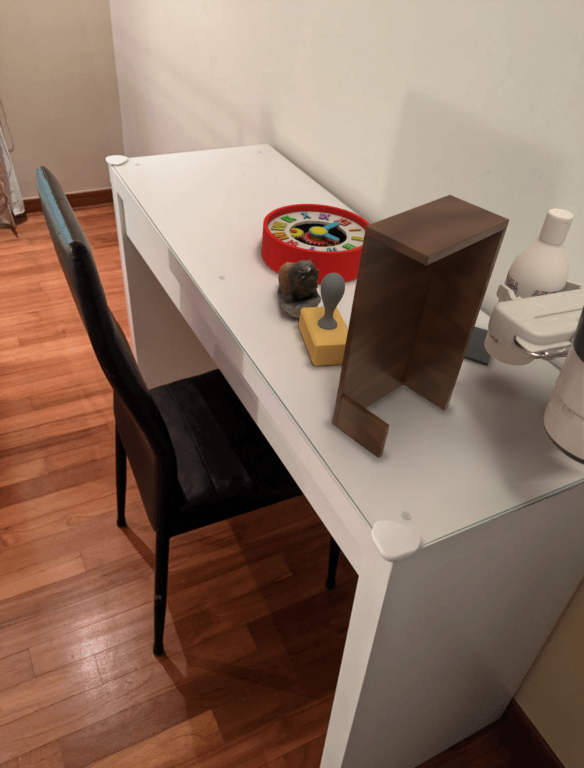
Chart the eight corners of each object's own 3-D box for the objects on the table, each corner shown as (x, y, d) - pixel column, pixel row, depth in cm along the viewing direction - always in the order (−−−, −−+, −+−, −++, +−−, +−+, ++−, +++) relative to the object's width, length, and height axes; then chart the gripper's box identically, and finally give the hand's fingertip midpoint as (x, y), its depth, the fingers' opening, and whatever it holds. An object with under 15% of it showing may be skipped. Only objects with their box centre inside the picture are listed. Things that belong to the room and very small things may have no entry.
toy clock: (239, 222, 107) (312, 195, 120) (238, 252, 111) (309, 223, 123) (327, 265, 98) (396, 231, 110) (323, 297, 101) (390, 260, 114)
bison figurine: (271, 285, 103) (275, 230, 97) (312, 286, 104) (319, 231, 98) (280, 326, 94) (285, 267, 87) (324, 325, 95) (333, 268, 89)
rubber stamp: (351, 364, 88) (364, 292, 80) (312, 366, 87) (322, 293, 79) (334, 325, 95) (344, 255, 88) (298, 326, 94) (305, 256, 86)
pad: (497, 335, 97) (498, 333, 97) (487, 365, 90) (487, 363, 90) (442, 318, 99) (443, 316, 99) (428, 346, 93) (428, 344, 93)
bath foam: (542, 352, 84) (600, 214, 71) (522, 374, 80) (580, 231, 67) (496, 331, 87) (544, 196, 75) (474, 351, 83) (521, 211, 70)
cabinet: (447, 407, 82) (510, 219, 65) (378, 457, 74) (428, 256, 57) (402, 379, 86) (449, 194, 69) (331, 423, 78) (365, 225, 61)
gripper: (526, 384, 66) (454, 317, 76) (660, 354, 73) (579, 295, 83) (545, 337, 62) (467, 272, 72) (686, 309, 69) (598, 253, 79)
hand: (528, 284), depth 78 cm, fingers closed on bath foam, 7 cm apart
